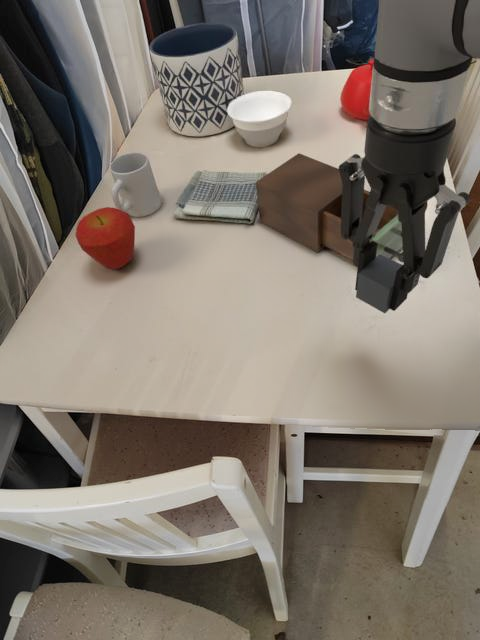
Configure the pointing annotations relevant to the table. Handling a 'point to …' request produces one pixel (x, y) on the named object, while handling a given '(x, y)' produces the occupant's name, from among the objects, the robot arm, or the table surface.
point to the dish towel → (220, 197)
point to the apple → (107, 236)
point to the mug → (134, 185)
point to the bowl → (260, 116)
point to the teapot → (358, 92)
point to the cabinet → (298, 198)
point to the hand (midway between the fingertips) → (380, 293)
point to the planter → (198, 76)
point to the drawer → (385, 237)
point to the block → (377, 282)
